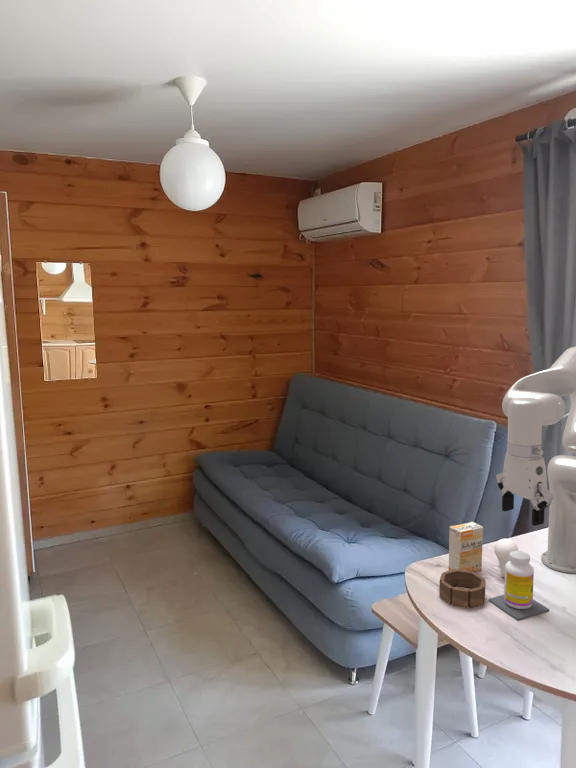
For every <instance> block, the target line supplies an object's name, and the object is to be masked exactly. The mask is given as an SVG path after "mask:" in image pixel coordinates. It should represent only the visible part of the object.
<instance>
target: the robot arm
mask: <svg viewBox="0 0 576 768" xmlns="http://www.w3.org/2000/svg"><path fill="white" fill-rule="evenodd" d="M567 396H569V398H570V408H569V413H568V415H567V416H568V417H567V420H566V423H565V427H564V431H563V434H562V439H561V440H562V441H561V443H562V447H563V448H564V450H566V451H567V452H570V453H573V454H576V346H573V347H569V348H567V349H566V350H565V351H564V352H562V354H561V355H560V356H559V357H558V358H557V359H556V360H555V362H554V363H553V364H552V365H551V366H550V367H549V368H547V369H544V370H540V371H538V372H535V373H532V374H530V375H526V376H524V377H522V378H520V379H518V380H517V381H516V382H514V383H513V384H512V386H511V387H510V388H509V389H508V390H507V391H506V393H505V395H504V397H503V399H502V404H501V406H502V407H501V408H502V412H503V414H504V415H505V416H506V417H507V445H506V446H507V448H506V450H507V451H506V453H505V457H504V460H503V469H502V472H500V473H497V474H495V477H496V482H497V486H498V488H499V490H500V492H499V493H500V495H501V496H502V498H501V499H502V500H501V503H502V504H501V511H502V512H508V511H511V510H512V511H513V510H514V508H515V507H514V506H515V495H517V496H519V497H521V498H524V499H526V500H530V502H531V504H532V506H533V509H532V511H531V525H532V526H535V527H536V526H540V525H542V524H544V522H545V509H548V507H549V509H548V510H549V511H548V512H549V513H548V530H547V532H548V533H547V534H548V535H547V550H546V551H545V552H543V553H541V555H540V557H541V559H540V560H541V562H542V563H543V565H545V566H546V567H548V568H550V569H552V570H555V571H557V572H563V573H566V574H567V573H568V574H576V456H575V455H569V454H568V455H567V454H560V455H559V454H558V455H555V456H553V457H552V458H551V459H550V460H549V462H548V464H547V466H546V462H545V458H544V457H543V455H544V450H542V445H543V444H542V443H543V442H542V439H543V438H542V437H543V426H549V425H550V426H551V425H555V424H557V423H558V422H561V420H562V419H563V418H564V416H565V413H566V408H567V405H566V402H565V400H564V399H563V397H567ZM546 467H547V469H546ZM547 480H548V481H547ZM548 486H549V489H548Z"/></svg>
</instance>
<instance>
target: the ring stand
mask: <svg viewBox="0 0 576 768" xmlns="http://www.w3.org/2000/svg"><path fill="white" fill-rule="evenodd" d="M439 577H440V578H439V594H438V595H439V598H440V599H441V600H443V601H444V603H447V604H448V605H449V606H451V607H457V608H462V609H473V608H474V609H475V608H477V607H481V606H483V605H485V600H486V585H487V584H486V582H487V581H486V578H484V577H483V576H481V575H479V574H478V573H476V571H475V572H472V571H465V570H458V569H457V570H455V569H454V570H451V571H450V570H448V571H443V572H442V573H441V575H440V576H439Z"/></svg>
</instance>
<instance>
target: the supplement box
mask: <svg viewBox="0 0 576 768" xmlns="http://www.w3.org/2000/svg"><path fill="white" fill-rule="evenodd" d="M448 534H449V535H448V536H449V538H448V539H449V540H448V541H449V543H448V571H451V570H454V569H455V570H457V569H458V570H465V571H472V573H474V572H475V573H476V572H479V571H482V568H483V565H482V563H483V542H484V541H483V540H484V539H483V538H484V526H482V525H480V524H478V523H476V522H474V521H470V522H465V523H460V524H455V525H450V526H449V533H448Z"/></svg>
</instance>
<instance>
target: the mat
mask: <svg viewBox="0 0 576 768" xmlns="http://www.w3.org/2000/svg"><path fill="white" fill-rule="evenodd" d="M488 602H489V603H491V604H492V605H493V606H495V607H497V608H498V609H500V610H501V611H502V612H504V613H505V614H506V615H508V616H510V617H511V618H513V619H514V620H516V621H517V622H519V621H523V620H525V619H528V618H531V617H534V616H538V615H541V614H544V613H547V612H550V608H549V607H547V606H545V605H543V604H542V603H540V602H539V601H537V600H536V599H534V598H533V602H532V606H531V607H530V608H528V609H516V608H513V607H510V606H509V605H507V604H506V603H505V601H504V594H501V595H500V594H499V595H498V596H494V597H490V598H488Z"/></svg>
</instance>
